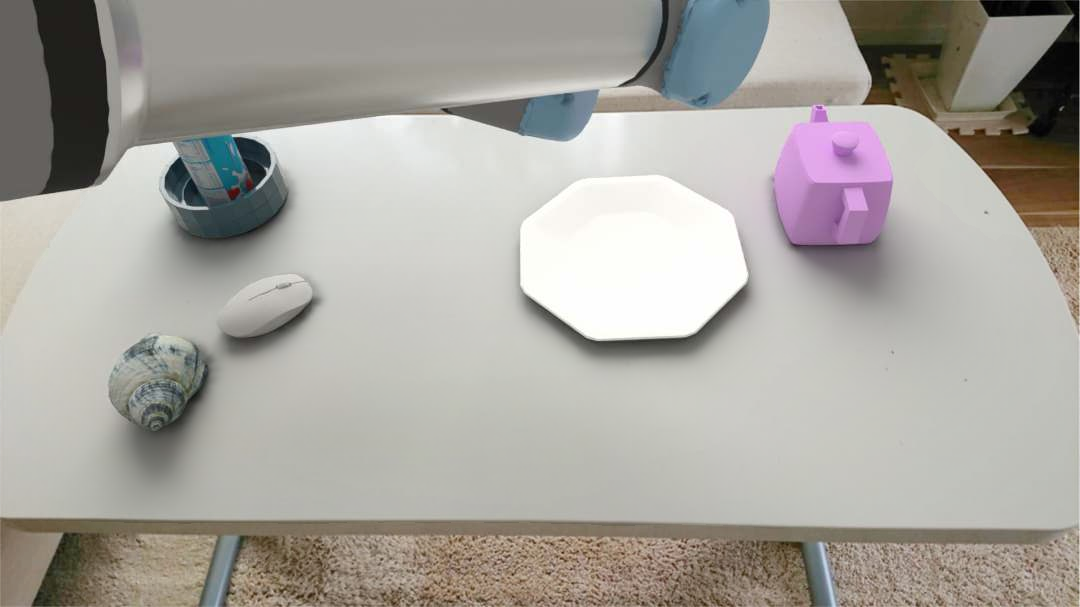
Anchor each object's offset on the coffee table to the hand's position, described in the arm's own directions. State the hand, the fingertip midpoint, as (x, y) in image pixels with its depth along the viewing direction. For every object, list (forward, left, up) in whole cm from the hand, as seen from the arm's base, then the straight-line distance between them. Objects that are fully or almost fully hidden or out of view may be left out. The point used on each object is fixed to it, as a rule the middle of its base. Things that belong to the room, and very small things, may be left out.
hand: (205, 5), depth 66 cm
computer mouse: (-8, -11, -27) cm, 30 cm away
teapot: (+49, -35, -27) cm, 66 cm away
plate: (+27, -28, -27) cm, 47 cm away
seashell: (-20, -15, -27) cm, 37 cm away
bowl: (-5, +8, -27) cm, 29 cm away
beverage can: (-5, +8, -27) cm, 29 cm away
